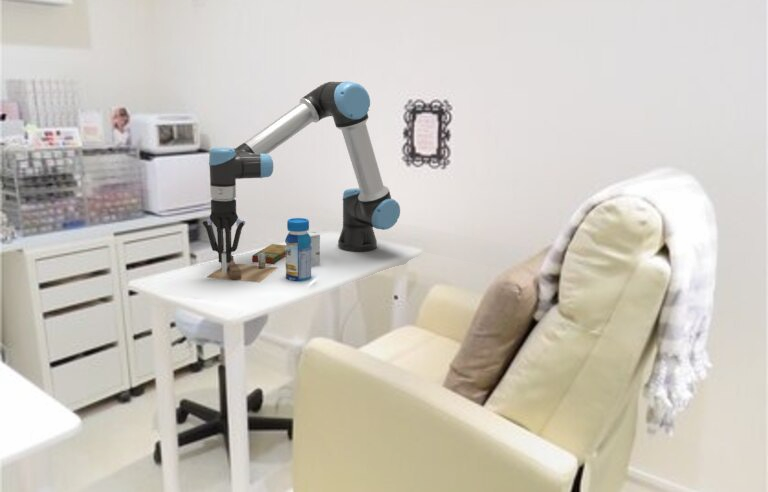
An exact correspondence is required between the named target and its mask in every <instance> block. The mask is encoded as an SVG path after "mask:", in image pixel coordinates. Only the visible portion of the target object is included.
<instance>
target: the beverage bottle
mask: <svg viewBox="0 0 768 492" xmlns="http://www.w3.org/2000/svg"><path fill="white" fill-rule="evenodd" d="M286 222H287V224H286V225H287V226H286V227H287V231H288V233H287V235H286V237H285V240H284V241H285V245H286V247H285V253H286V257H285V279H286V280H287V281H290V282H306V281H309V280H311V279H312V277H313V276H312V267H311V252H312V247H311V245H310V244H311V238H310V235H309V234H308V233H309V230H310V221H309V219H308V218H302V217H294V218H293V217H291V218H288V219H287V221H286Z"/></svg>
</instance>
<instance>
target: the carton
mask: <svg viewBox="0 0 768 492" xmlns="http://www.w3.org/2000/svg"><path fill="white" fill-rule="evenodd" d="M285 247H286V244H275V243H272V244H270V245H267V246H266V247H265V248H263V249H261V250H259V251H257V252H256V253H254V254H252V256H251V262H252V263H257V264H258V253H265V258H266V265H275V264H276V263H278V262H279V261H282V259H286V253H285Z"/></svg>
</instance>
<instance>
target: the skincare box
mask: <svg viewBox="0 0 768 492" xmlns="http://www.w3.org/2000/svg"><path fill="white" fill-rule="evenodd" d="M308 234H309V235H310V238H311V244H310V245H311V247H312V252H311V268H312V267H318V266H319V267H320V266H321V265H320V264H321V263H320V260H321V255H320V254H321V234H320V233H317V232H313V231H312V232H308Z"/></svg>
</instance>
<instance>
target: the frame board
mask: <svg viewBox="0 0 768 492" xmlns="http://www.w3.org/2000/svg"><path fill="white" fill-rule="evenodd" d="M236 265H237V266H238V267H239V268H240V270H241V279H234V280H232V279H231V277H230V276H229V274H228V273H226V274H223V273H222V268H221V267H220V268H218V269H217V270H214V272H212V273H210V274H209V275H207V276H206V278H211V279H220V280H230V281H231V280H232V281H242V282H243V281H244V282H251V283H252V282H253V283H261V282H262V281H263V280H264V279H266V278H267V277H268V276H270V275H271V274H273V272H275V271H276V270H277V269H279V267H277V266H269V265H268V266H267V265H266V268H265V269H259V268H258V265H255V264H245V263H236Z"/></svg>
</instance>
